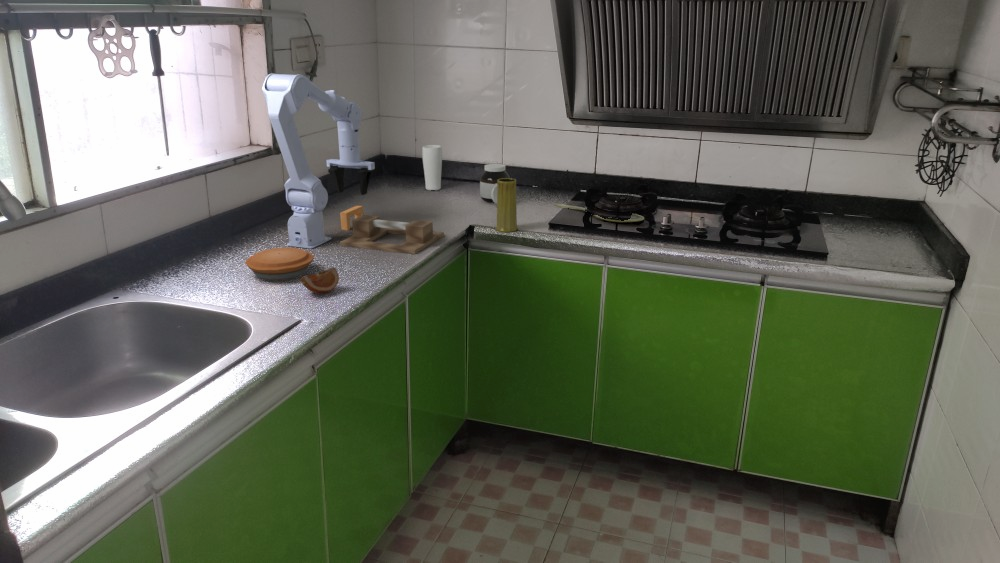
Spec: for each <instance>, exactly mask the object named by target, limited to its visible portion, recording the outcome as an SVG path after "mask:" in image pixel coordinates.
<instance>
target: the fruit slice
mask: <svg viewBox="0 0 1000 563" xmlns="http://www.w3.org/2000/svg"><path fill="white" fill-rule="evenodd" d="M339 280H340V276H339V273H338V271H337V268H336V267H331V268H327V269H324V270H320V271H317V272H316V273H311V274H307V275H302V276H301V278H300V282H301V284H302V285H303V286H304V287H305V288H306V289H307V290H309V292H311V293H314V294H319V295H325V294H328V293H330V292H333V291H334V289H335V288H336V287H337V285H338V284H339Z"/></svg>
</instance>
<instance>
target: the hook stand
mask: <svg viewBox="0 0 1000 563" xmlns="http://www.w3.org/2000/svg"><path fill="white" fill-rule="evenodd" d="M351 221H352V224H351V225H352V235H351V236H349V237H346V238H344V239H343V240H341V241H339V246H342V247H350V248H358V249H366V250H367V249H368V250H375V251H384V252H392V253H402V254H409V255H416V254H417V253H419V252H420V251H422V250H424V249H426V248H427V247H428V246H430V245H432V244H433V243H435V242H436V241H438V240H439V239H441V238H443V237H444V236H445V232H444V231H435V230H433V229H434V228H433V224H434V223H433V221H430V220H421V219H420V220H419V219H415V220H412V221H411V222H406V221H397V220H396V221H395V220H386V219H381V218H380V215H369V214H363V215H362V216H360V217H358V218H356V219H355V218H353V219H352V220H351ZM387 234H392V235H400V236H401V235H402V236H403V235H404V236H405V241H404V242H402V243H400V244H394V243H384V242H378V241H377V242H376V240H378V239H380V238H382V237H383V236H385V235H387Z"/></svg>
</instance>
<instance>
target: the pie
mask: <svg viewBox="0 0 1000 563" xmlns="http://www.w3.org/2000/svg"><path fill="white" fill-rule="evenodd" d="M313 261H314V255H313V253H312V252H309V251H307V250H304V249H303V248H302V249H301V248H299V247H276V248H275V247H274V248H269V249H264V250H261V251H258V252H255V254H253V255H251V256H250V257H248V258H247V259H246V260H245V262H244V264H245V265H246V266H247V267H248V268H249V269H250V270H251V271H252V272H253V273H254V275H255V277H257V279H260V280H262V279H263V280H262V281H267V280H269V282H281V281H282V280H283V281H290V280H294V279H297V278H300V277H303V276H305V274H306V273H307V271H308V269H309V267H310V265H311V263H312V262H313Z"/></svg>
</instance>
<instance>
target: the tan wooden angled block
mask: <svg viewBox="0 0 1000 563" xmlns="http://www.w3.org/2000/svg"><path fill="white" fill-rule="evenodd" d="M339 215H340V227H341V228H340V230H341V231H349V230H351V221H350V219H351V218H350V217H354V219H356V218H358V217H360V216H362V215H364V206H363V205H355V206H352V207H350V208H348V209H345V210H343V211H341V212H340V214H339Z"/></svg>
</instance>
